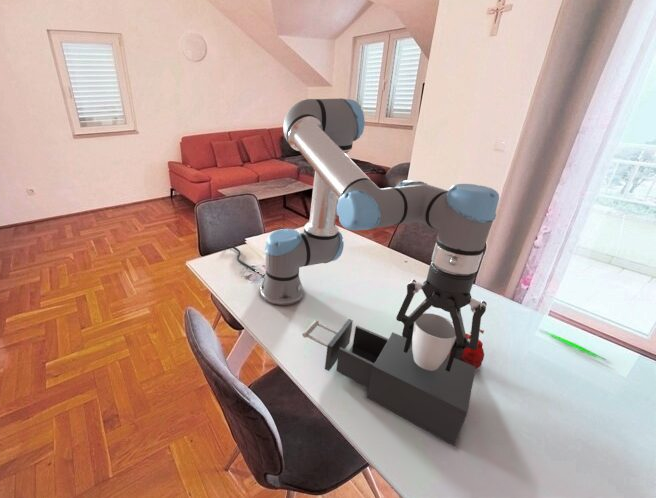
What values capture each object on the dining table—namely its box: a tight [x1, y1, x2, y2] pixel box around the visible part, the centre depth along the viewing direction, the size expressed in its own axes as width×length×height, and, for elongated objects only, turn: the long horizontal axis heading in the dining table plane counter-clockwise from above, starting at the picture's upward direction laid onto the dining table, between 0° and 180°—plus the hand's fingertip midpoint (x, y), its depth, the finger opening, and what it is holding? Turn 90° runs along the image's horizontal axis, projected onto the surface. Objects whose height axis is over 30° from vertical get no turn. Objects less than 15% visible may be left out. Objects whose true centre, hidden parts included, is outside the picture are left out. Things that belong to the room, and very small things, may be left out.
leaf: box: [546, 331, 607, 360], centre depth 89 cm, size 1×14×1 cm, turn 32°
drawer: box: [302, 318, 389, 389], centre depth 81 cm, size 25×13×8 cm, turn 51°
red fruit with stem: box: [448, 329, 485, 371], centre depth 80 cm, size 8×7×15 cm
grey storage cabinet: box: [366, 332, 477, 447], centre depth 71 cm, size 18×14×10 cm
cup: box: [412, 312, 456, 371], centre depth 67 cm, size 8×8×10 cm
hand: (427, 357), depth 68 cm, fingers closed on cup, 8 cm apart
